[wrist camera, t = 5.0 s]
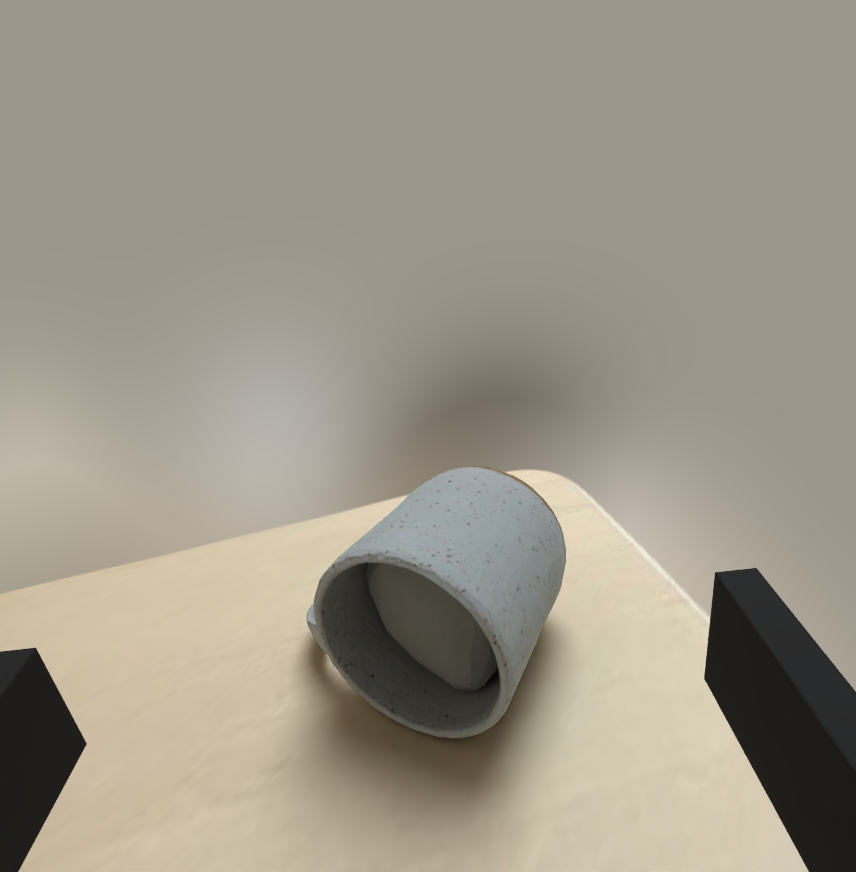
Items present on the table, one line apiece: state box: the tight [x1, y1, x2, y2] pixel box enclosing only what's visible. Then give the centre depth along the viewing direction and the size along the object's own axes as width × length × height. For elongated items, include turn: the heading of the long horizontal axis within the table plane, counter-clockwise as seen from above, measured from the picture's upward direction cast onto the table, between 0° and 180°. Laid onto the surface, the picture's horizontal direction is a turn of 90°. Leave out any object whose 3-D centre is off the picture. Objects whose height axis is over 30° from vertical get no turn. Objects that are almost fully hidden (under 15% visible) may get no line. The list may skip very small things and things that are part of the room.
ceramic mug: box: [307, 466, 566, 738], centre depth 25 cm, size 11×8×8 cm
